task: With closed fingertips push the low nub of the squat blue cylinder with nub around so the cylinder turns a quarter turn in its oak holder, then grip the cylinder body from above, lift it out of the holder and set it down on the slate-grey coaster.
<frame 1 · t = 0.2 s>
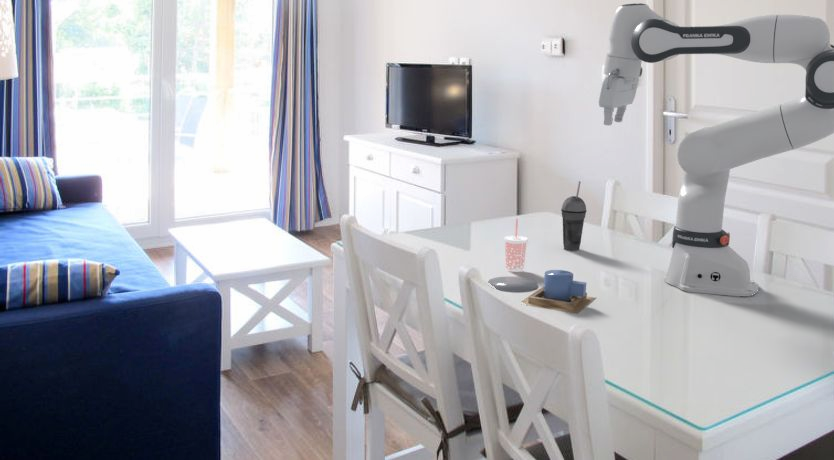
hand: (612, 123, 226), 39 cm above the table, tool pointing down, fingers open, 8 cm apart
beverage cup 2: (514, 272, 232), on the table
holder: (557, 303, 205), on the table
coaster: (512, 287, 217), on the table
blue cylinder with nub: (557, 300, 205), point 1 cm above the table, touching holder
beverage cup: (571, 249, 257), on the table
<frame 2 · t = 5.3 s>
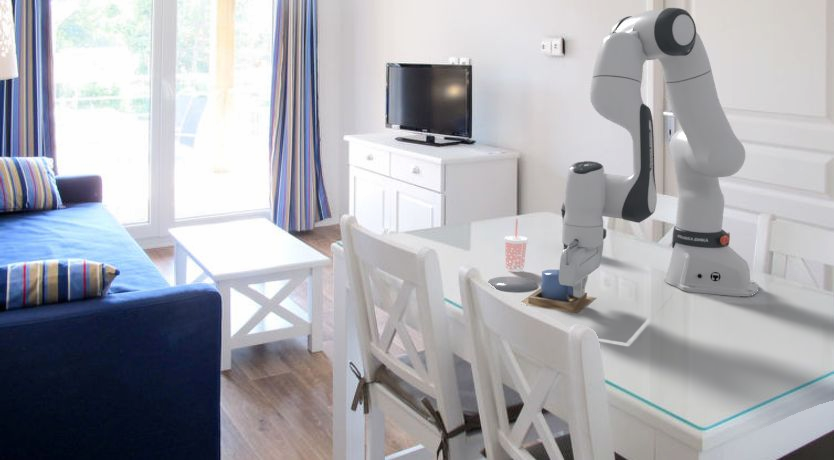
hand: (578, 295, 199), 3 cm above the table, tool pointing down, fingers closed
blue cylinder with nub: (554, 300, 205), point 1 cm above the table, touching gripper
everything else where it was.
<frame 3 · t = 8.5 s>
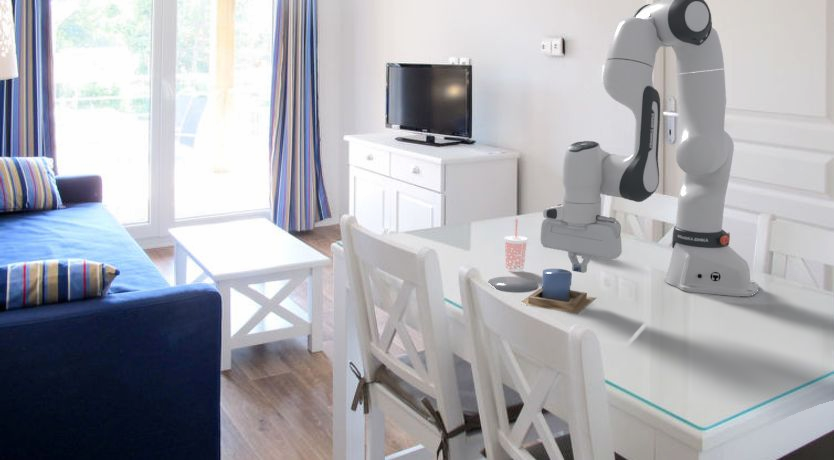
hand: (579, 271, 206), 7 cm above the table, tool pointing down, fingers closed
blue cylinder with nub: (555, 299, 206), point 1 cm above the table, touching holder
everything else where it was.
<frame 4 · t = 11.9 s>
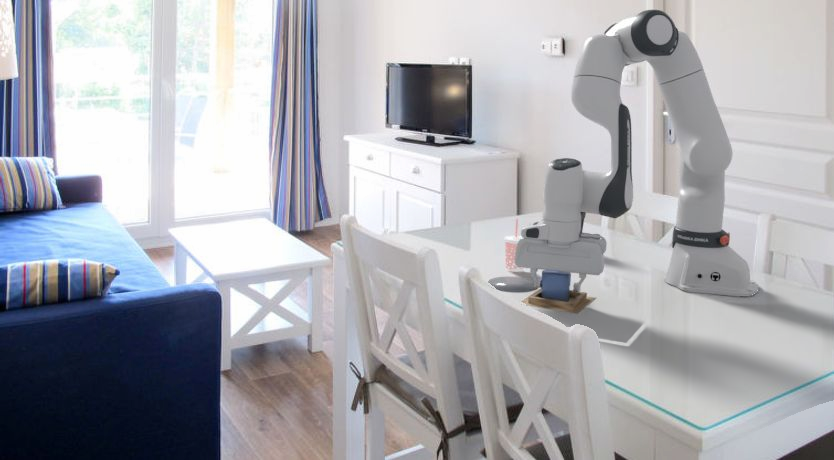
hand: (557, 289, 204), 3 cm above the table, tool pointing down, fingers open, 8 cm apart
blue cylinder with nub: (554, 299, 205), point 1 cm above the table, touching gripper, holder
everything else where it was.
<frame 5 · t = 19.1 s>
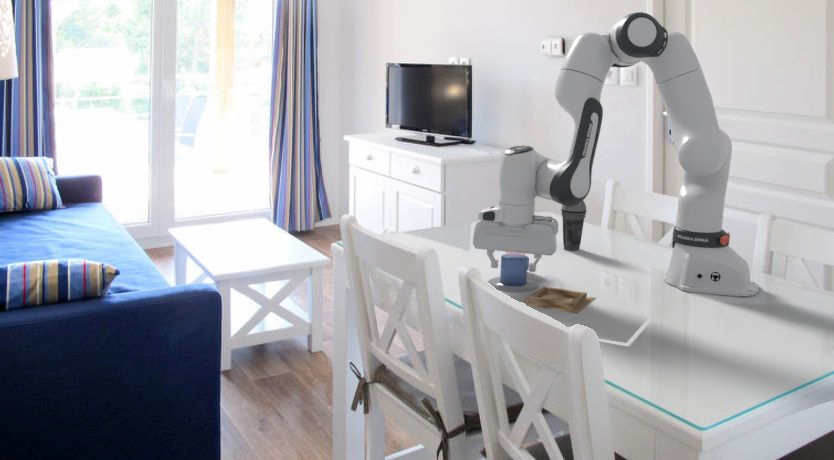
hand: (513, 269, 216), 4 cm above the table, tool pointing down, fingers open, 8 cm apart
blue cylinder with nub: (513, 282, 217), point 1 cm above the table, touching coaster
everything else where it was.
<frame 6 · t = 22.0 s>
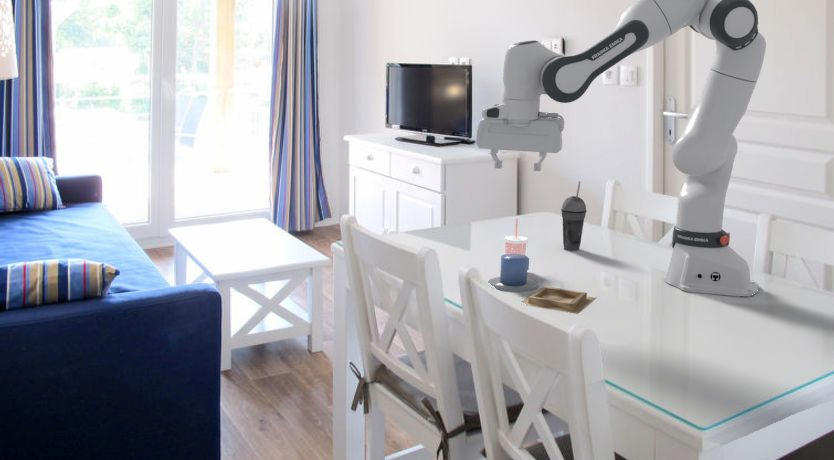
hand: (517, 169, 211), 29 cm above the table, tool pointing down, fingers open, 8 cm apart
nothing on the table moved.
at the end: blue cylinder with nub inside the target area on the coaster (0.5 cm from its centre), point 1.0 cm above the coaster's base; blue cylinder with nub tilted 0°; the gripper is holding nothing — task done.
